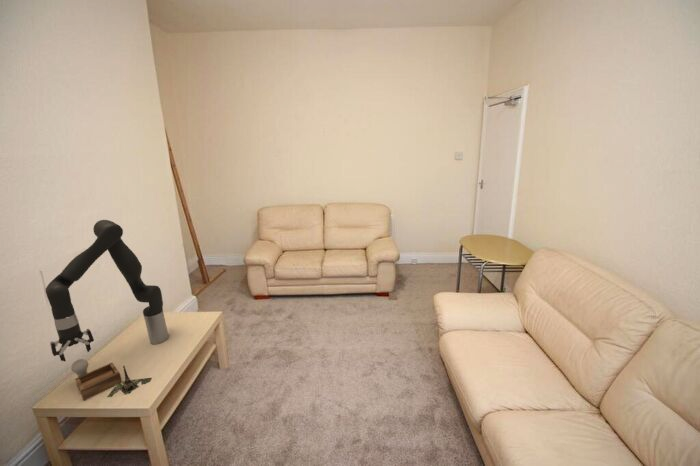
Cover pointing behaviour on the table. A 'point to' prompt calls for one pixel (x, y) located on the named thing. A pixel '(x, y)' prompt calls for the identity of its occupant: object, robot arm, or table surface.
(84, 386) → the wooden tray
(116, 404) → the table surface
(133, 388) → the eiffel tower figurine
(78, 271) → the robot arm
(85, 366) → the lightbulb
